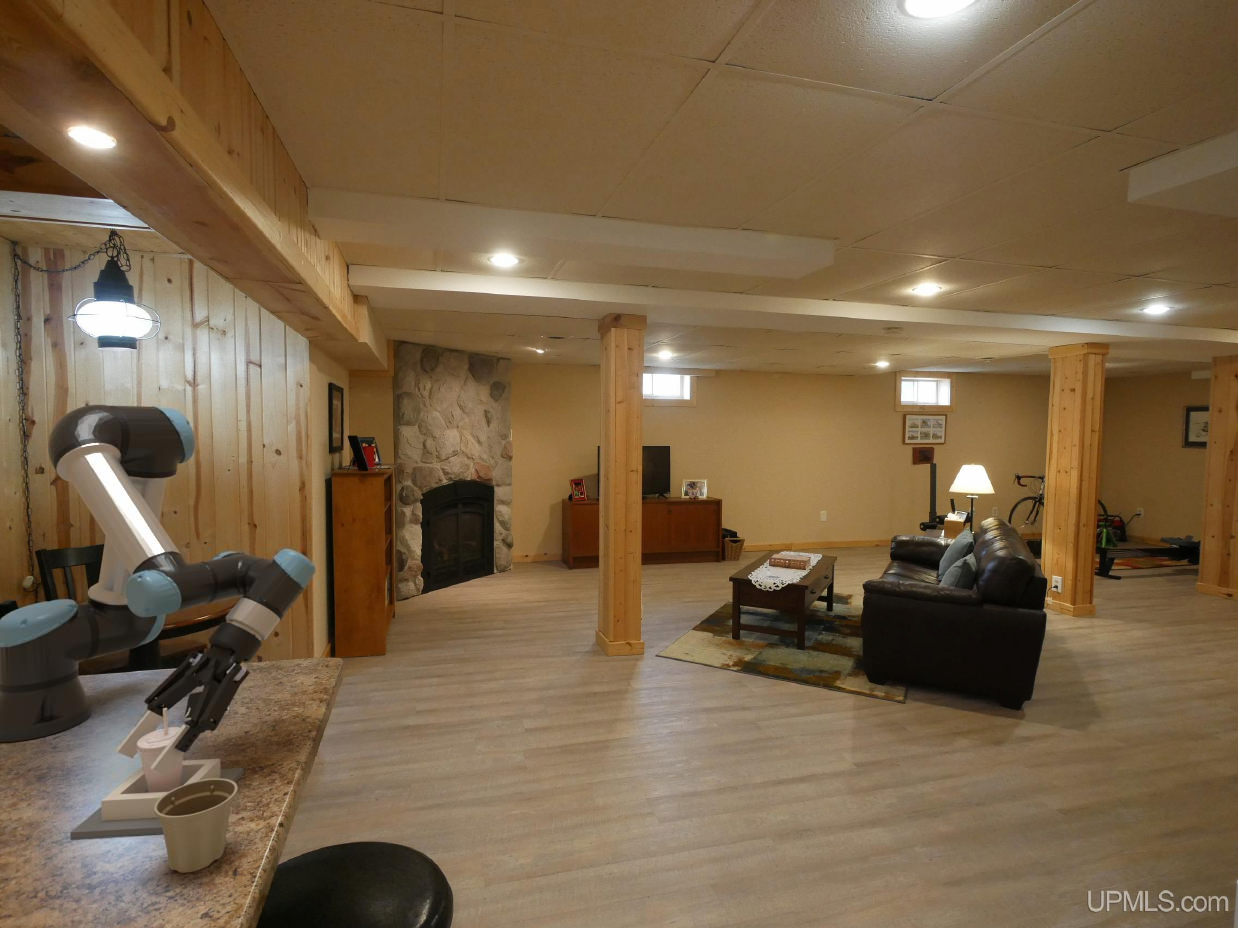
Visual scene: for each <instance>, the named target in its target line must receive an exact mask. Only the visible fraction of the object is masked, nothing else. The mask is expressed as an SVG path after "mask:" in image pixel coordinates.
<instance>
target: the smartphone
mask: <svg viewBox="0 0 1238 928" xmlns="http://www.w3.org/2000/svg"><path fill="white" fill-rule="evenodd" d="M201 693H202V691H198V692H191V693H189V694H188V700H187V704H186V708H185V712H184V713H185V714H184V717H183V723H184V722H185V721H186V722H187V721H188V720H191V718H192V715H193V713H194V710H195V708H196V705H197V703H198V700H199V698H200V695H201ZM230 705H231V704H230ZM230 705H229V706H230ZM227 714H229V715H230V707H228V708H227V710H226V712H225V714H224V715H227ZM199 720H200V719H199Z"/></svg>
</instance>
